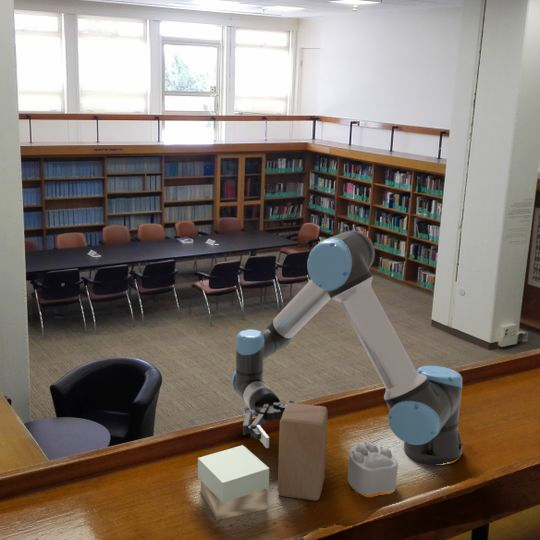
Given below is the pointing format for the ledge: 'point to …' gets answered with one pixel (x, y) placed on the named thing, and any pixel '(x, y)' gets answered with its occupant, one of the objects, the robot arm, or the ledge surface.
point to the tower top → (233, 473)
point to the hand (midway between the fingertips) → (294, 438)
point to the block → (302, 451)
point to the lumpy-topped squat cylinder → (371, 469)
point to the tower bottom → (235, 503)
